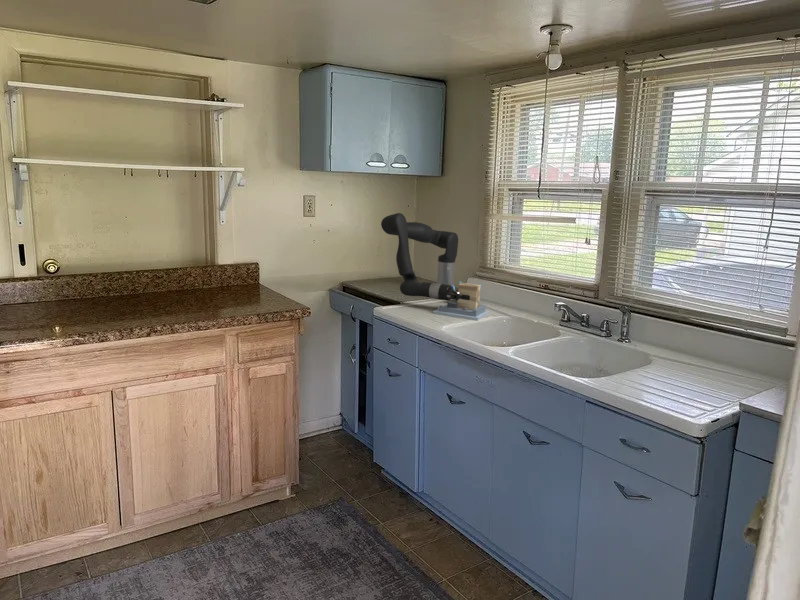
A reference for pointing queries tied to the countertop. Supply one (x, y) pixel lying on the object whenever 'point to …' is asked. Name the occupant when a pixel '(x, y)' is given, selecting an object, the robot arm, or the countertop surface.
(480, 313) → the grey stepped platform
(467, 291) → the wooden block
